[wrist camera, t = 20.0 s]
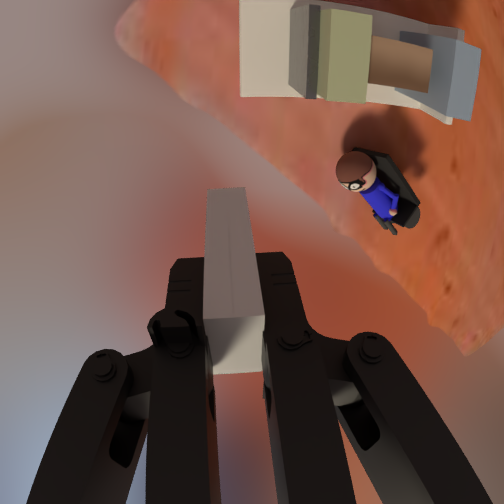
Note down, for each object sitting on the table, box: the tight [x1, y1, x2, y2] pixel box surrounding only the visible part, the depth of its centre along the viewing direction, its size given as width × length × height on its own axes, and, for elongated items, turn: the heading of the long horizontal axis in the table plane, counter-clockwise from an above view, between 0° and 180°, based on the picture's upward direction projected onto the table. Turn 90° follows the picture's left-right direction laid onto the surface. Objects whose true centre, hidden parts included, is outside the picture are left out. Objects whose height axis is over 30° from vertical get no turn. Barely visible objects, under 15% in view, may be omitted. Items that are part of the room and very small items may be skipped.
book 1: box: [317, 9, 372, 104], centre depth 25 cm, size 8×4×11 cm, turn 0°
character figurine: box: [336, 147, 420, 235], centre depth 40 cm, size 8×7×15 cm
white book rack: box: [239, 0, 465, 125], centre depth 28 cm, size 12×24×8 cm, turn 90°
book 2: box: [368, 35, 433, 93], centre depth 26 cm, size 4×7×10 cm, turn 90°
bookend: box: [288, 4, 321, 99], centre depth 26 cm, size 9×1×8 cm, turn 0°
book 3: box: [394, 31, 481, 121], centre depth 26 cm, size 8×4×11 cm, turn 0°
